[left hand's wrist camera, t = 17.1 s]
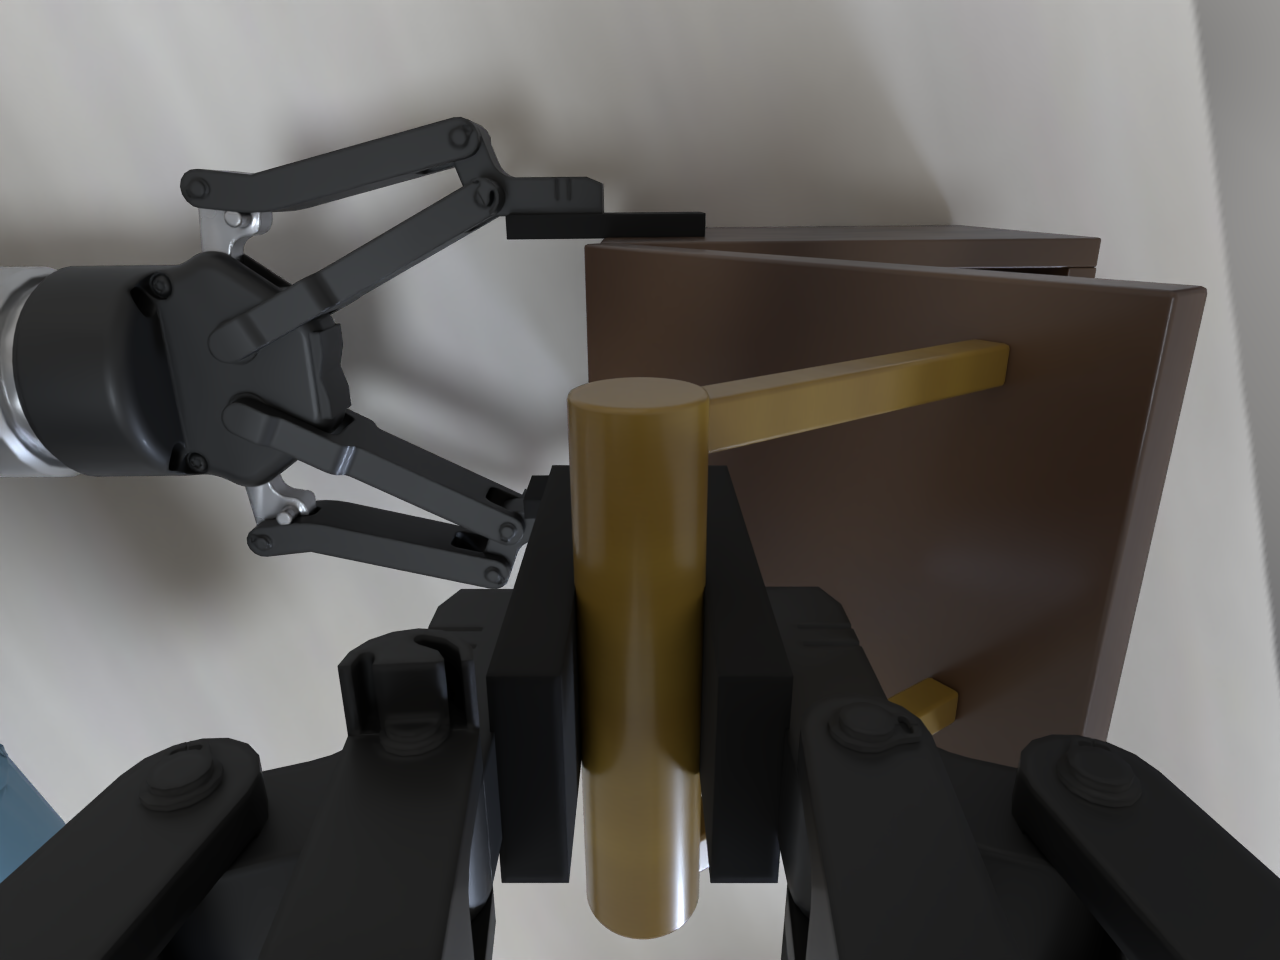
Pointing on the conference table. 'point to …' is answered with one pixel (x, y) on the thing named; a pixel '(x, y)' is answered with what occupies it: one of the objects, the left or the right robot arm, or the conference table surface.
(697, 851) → the lid
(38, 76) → the conference table surface
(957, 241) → the chest
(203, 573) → the conference table surface
